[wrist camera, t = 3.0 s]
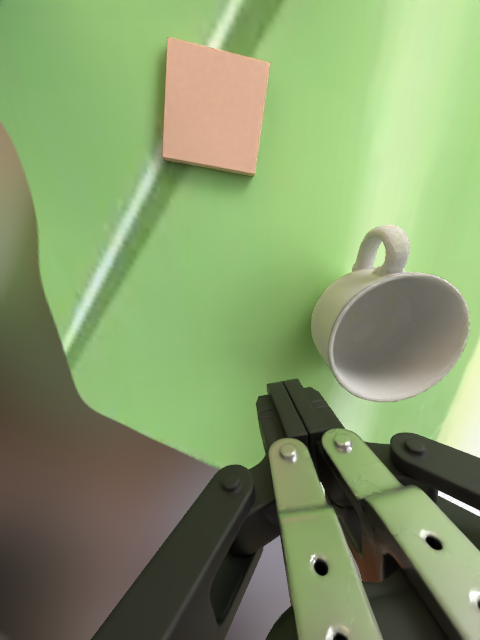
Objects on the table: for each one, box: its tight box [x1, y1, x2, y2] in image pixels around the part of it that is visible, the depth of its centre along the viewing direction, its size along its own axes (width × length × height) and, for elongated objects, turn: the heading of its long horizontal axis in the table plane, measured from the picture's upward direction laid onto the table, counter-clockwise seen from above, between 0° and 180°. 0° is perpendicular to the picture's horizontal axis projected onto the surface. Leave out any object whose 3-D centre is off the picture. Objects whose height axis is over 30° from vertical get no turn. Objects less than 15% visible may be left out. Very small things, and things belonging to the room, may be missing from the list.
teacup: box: [311, 225, 470, 402], centre depth 22 cm, size 14×11×8 cm
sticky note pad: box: [162, 37, 270, 176], centre depth 20 cm, size 8×8×1 cm
